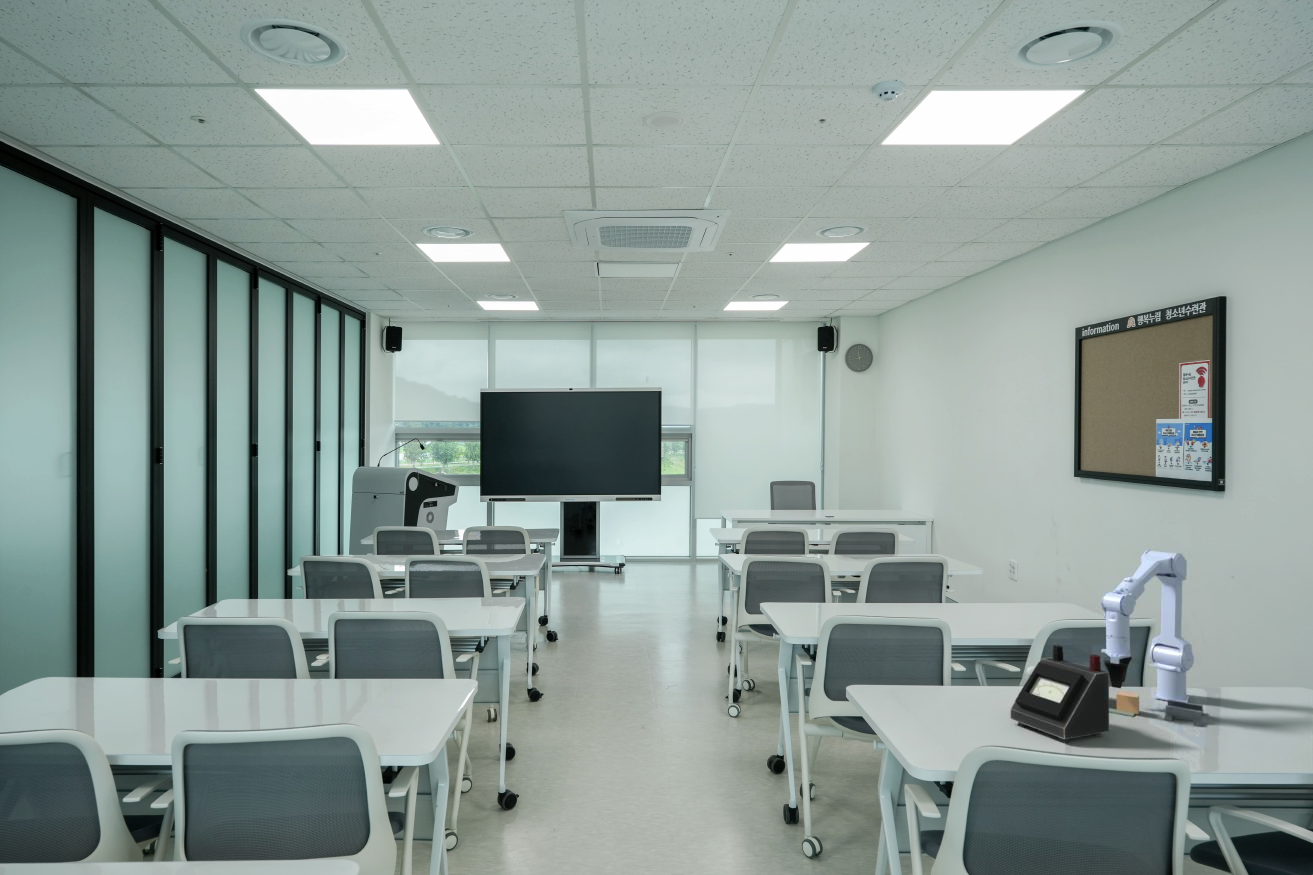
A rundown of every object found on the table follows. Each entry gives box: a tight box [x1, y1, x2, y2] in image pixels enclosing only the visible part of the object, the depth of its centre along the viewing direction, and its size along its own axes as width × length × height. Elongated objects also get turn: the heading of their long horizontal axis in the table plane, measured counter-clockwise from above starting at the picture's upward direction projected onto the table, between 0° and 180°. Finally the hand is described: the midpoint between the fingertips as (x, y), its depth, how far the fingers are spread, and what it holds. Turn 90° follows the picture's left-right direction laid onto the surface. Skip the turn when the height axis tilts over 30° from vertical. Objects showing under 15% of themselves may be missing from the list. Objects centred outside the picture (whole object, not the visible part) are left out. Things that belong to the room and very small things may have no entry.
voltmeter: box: [1009, 644, 1110, 743], centre depth 196 cm, size 16×16×20 cm
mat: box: [1109, 708, 1136, 718], centre depth 213 cm, size 8×8×1 cm
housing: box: [1164, 699, 1204, 728], centre depth 209 cm, size 15×8×3 cm, turn 142°
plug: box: [1109, 691, 1140, 715], centre depth 214 cm, size 4×13×4 cm, turn 52°
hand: (1118, 684), depth 214 cm, fingers open, 7 cm apart
